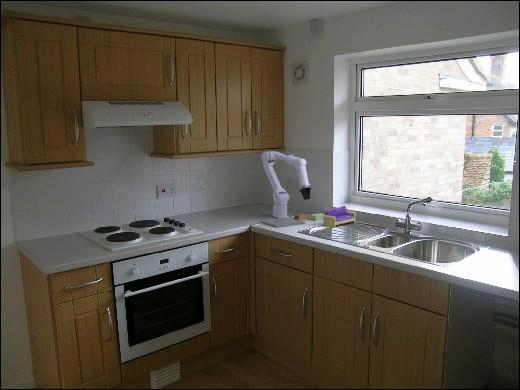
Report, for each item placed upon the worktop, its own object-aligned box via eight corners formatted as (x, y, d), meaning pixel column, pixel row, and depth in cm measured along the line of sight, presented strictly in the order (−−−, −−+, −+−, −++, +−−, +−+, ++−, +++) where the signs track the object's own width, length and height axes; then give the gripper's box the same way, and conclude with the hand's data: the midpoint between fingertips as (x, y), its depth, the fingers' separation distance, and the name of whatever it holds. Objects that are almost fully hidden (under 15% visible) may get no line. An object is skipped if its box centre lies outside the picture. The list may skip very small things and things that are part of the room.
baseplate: (260, 222, 278) (260, 220, 277) (287, 219, 288) (287, 217, 287) (276, 227, 262) (276, 225, 262) (304, 223, 272) (304, 221, 272)
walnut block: (294, 220, 285) (294, 214, 284) (304, 218, 289) (304, 213, 289) (299, 221, 280) (299, 216, 280) (309, 220, 285) (309, 214, 284)
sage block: (310, 220, 285) (310, 214, 285) (320, 218, 289) (320, 213, 289) (315, 221, 281) (315, 215, 280) (325, 220, 285) (325, 214, 284)
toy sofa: (334, 228, 259) (334, 210, 258) (322, 226, 266) (322, 209, 264) (356, 223, 273) (356, 206, 272) (344, 221, 280) (345, 205, 278)
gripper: (311, 175, 271) (315, 197, 271) (307, 177, 286) (311, 198, 286) (300, 177, 271) (304, 200, 270) (296, 179, 285) (300, 200, 285)
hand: (307, 199), depth 278 cm, fingers open, 7 cm apart
